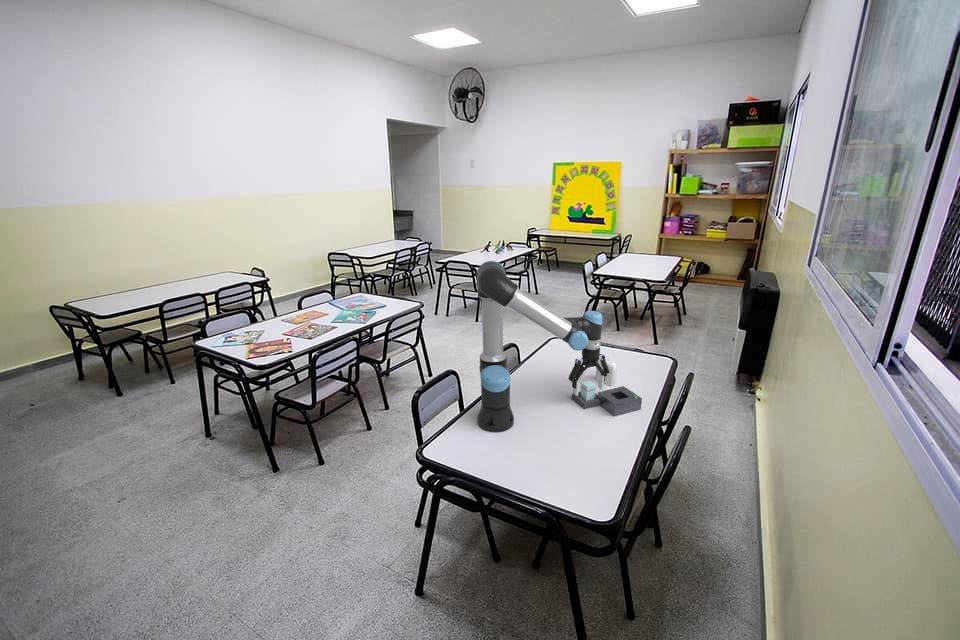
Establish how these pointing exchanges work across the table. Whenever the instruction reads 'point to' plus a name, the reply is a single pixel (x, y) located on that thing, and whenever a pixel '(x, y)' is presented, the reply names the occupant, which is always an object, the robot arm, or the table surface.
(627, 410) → the port block
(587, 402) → the dark grey square tray
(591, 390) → the plug
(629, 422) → the table surface
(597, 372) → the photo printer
